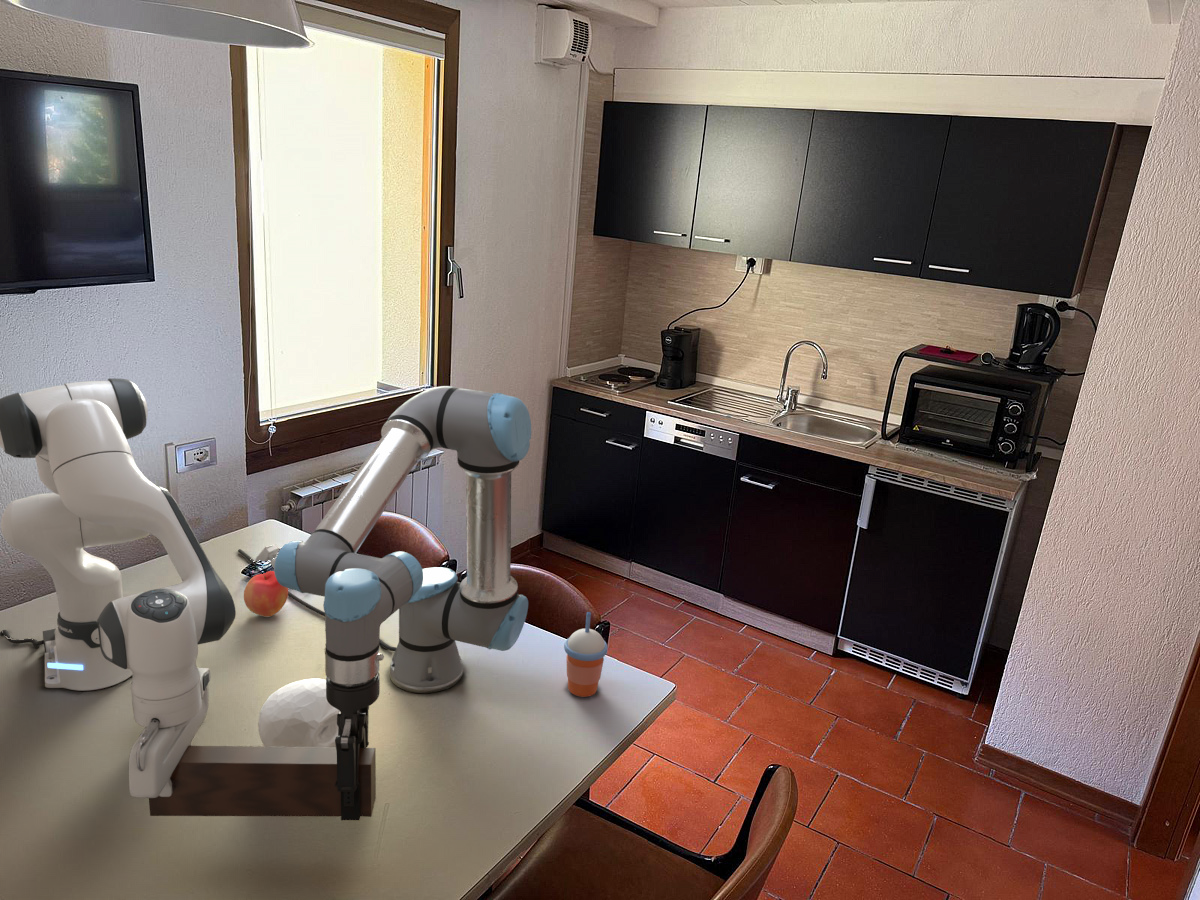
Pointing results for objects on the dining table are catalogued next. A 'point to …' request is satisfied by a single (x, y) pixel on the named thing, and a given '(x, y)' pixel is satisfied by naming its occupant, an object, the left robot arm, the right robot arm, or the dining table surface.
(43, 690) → the dining table surface
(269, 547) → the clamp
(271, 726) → the skull
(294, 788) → the walnut beam
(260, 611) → the apple
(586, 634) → the cup with straw
